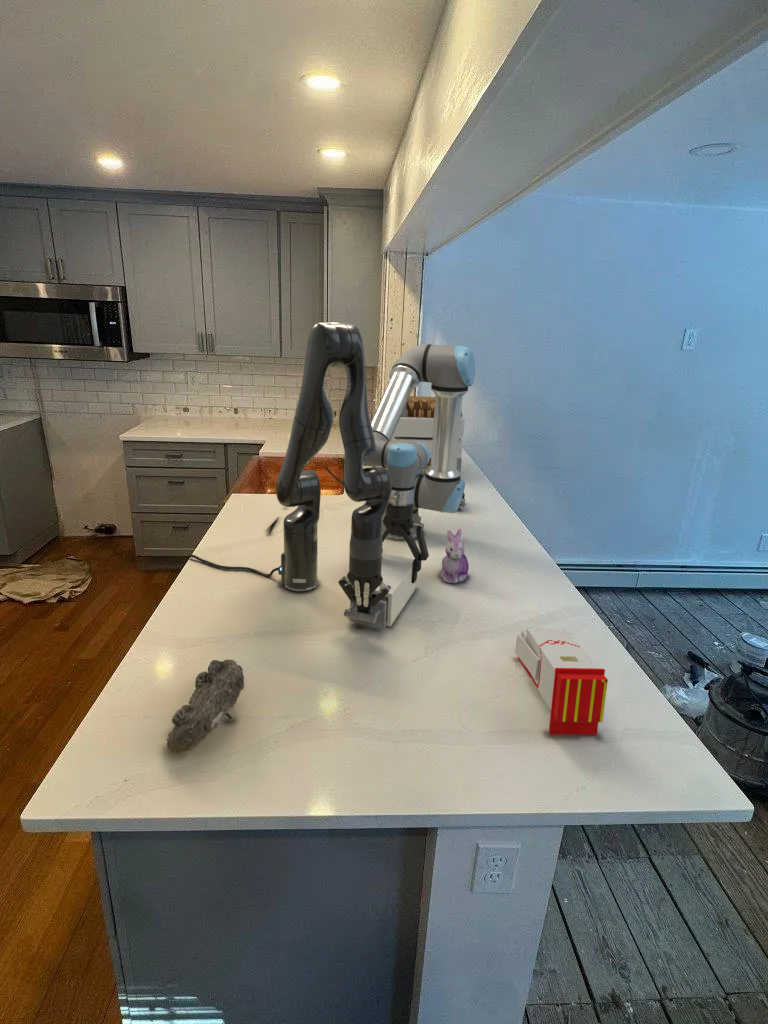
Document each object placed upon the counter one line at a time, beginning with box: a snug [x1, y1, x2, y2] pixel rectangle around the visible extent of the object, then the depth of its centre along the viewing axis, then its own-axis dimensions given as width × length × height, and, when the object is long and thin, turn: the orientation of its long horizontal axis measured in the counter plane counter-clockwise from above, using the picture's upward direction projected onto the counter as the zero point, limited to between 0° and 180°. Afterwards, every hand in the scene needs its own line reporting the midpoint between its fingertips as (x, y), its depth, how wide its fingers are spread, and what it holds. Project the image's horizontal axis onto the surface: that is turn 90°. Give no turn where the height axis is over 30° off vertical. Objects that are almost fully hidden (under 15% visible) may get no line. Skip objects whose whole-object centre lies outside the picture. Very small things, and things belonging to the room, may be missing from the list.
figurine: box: [440, 528, 470, 584], centre depth 167 cm, size 9×10×15 cm
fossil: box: [166, 658, 245, 754], centre depth 106 cm, size 22×10×15 cm
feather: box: [266, 506, 287, 535], centre depth 206 cm, size 2×28×2 cm
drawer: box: [343, 594, 388, 630], centre depth 145 cm, size 26×9×7 cm, turn 161°
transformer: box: [390, 395, 465, 474], centre depth 268 cm, size 34×33×41 cm
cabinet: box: [353, 553, 417, 627], centre depth 151 cm, size 22×10×9 cm, turn 161°
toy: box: [514, 627, 609, 736], centre depth 119 cm, size 12×13×30 cm
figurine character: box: [457, 492, 466, 511], centre depth 229 cm, size 7×8×15 cm
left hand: (363, 617), depth 136 cm, fingers closed
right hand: (395, 577), depth 158 cm, fingers closed on cabinet, 10 cm apart
